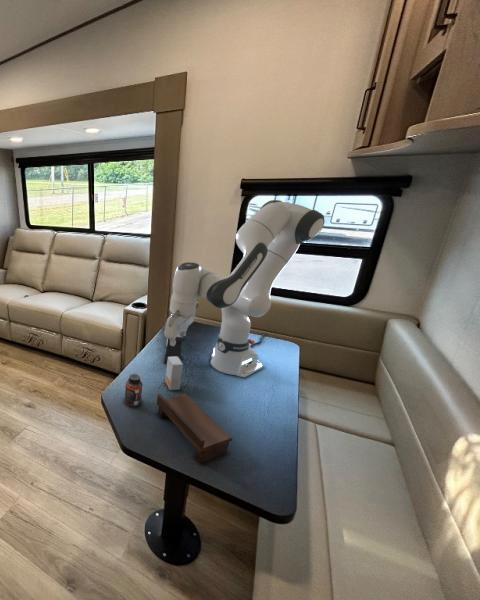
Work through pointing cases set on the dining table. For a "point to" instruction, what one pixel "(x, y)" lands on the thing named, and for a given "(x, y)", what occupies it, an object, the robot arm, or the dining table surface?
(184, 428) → the dark wooden riser
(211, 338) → the dining table surface
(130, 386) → the supplement bottle
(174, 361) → the cosmetic box
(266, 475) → the dining table surface
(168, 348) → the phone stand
